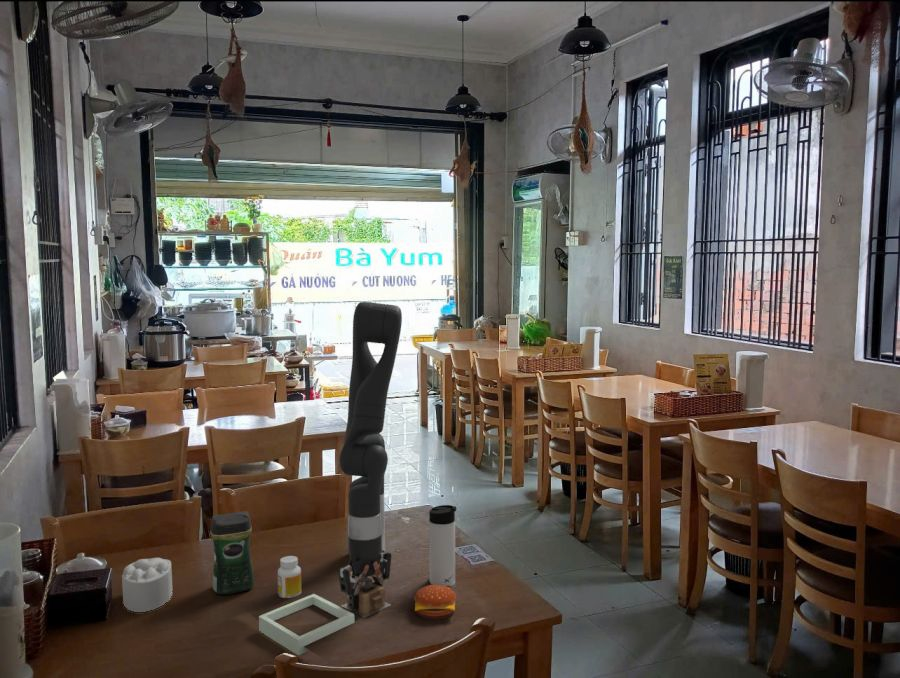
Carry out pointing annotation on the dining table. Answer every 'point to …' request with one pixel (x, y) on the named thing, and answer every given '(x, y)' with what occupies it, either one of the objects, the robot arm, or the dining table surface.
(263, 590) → the dining table surface
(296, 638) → the tray
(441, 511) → the travel mug
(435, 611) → the hamburger
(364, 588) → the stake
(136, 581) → the lumpy-topped squat cylinder
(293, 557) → the supplement bottle
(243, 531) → the coffee jar
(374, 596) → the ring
